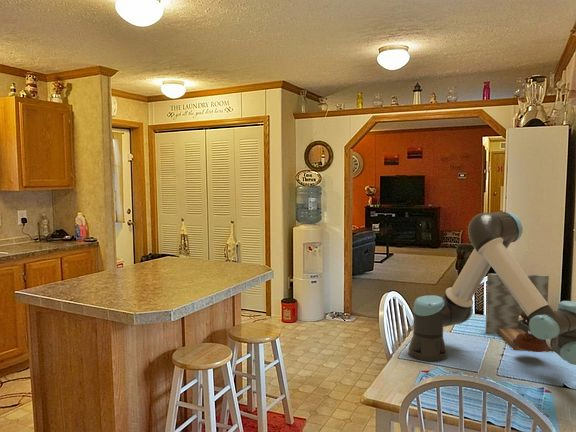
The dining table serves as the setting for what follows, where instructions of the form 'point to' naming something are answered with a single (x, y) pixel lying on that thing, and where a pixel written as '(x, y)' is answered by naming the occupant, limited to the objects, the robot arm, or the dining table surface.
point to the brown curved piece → (529, 340)
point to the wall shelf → (508, 308)
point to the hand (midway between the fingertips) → (530, 319)
